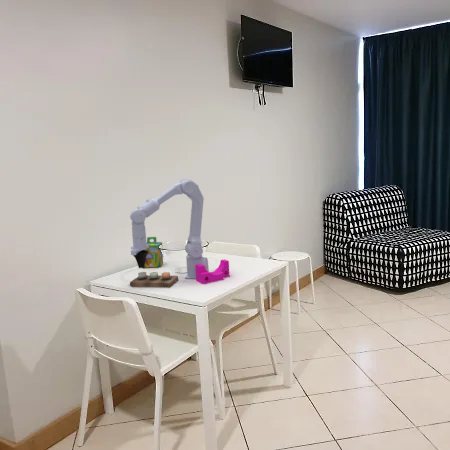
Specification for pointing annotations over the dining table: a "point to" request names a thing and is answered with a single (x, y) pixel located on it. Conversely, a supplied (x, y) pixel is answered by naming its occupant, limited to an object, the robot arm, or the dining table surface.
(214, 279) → the toy block
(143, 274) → the grey button
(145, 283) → the button panel
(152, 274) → the sage button
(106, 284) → the dining table surface
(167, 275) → the terracotta button
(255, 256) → the dining table surface
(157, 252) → the chalk box
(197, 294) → the dining table surface
